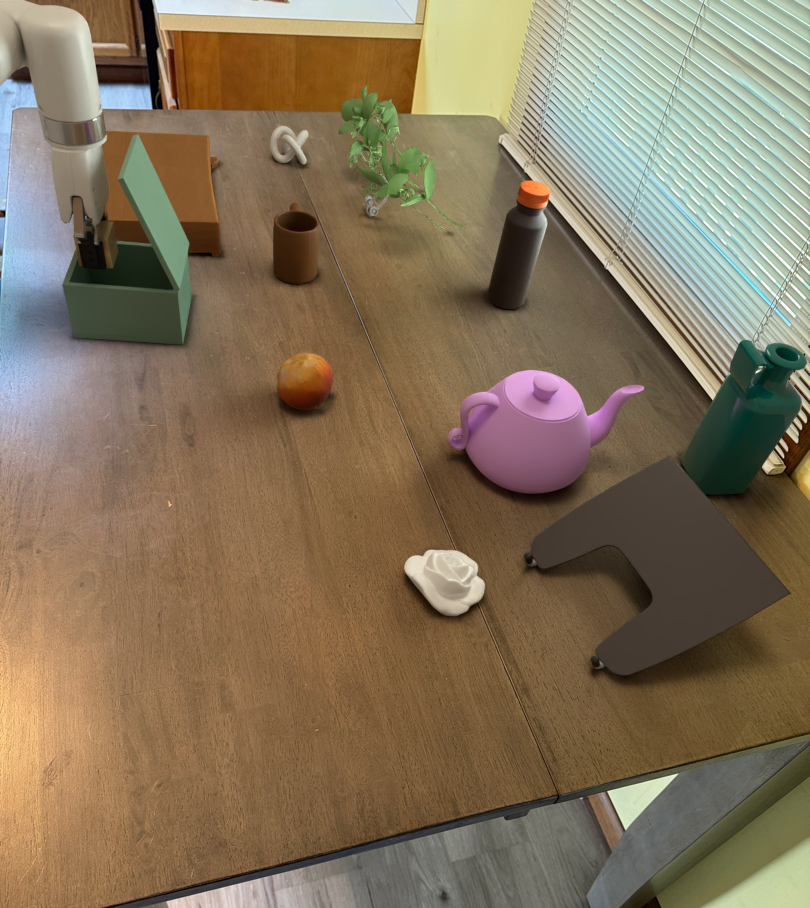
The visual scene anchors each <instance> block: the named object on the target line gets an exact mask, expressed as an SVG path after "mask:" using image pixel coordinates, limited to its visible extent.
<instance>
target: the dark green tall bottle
mask: <svg viewBox="0 0 810 908" xmlns="http://www.w3.org/2000/svg"><path fill="white" fill-rule="evenodd" d="M737 344H738V345H737V347H736V349H735V352H734V353H733V357H732V359H731V362H730V364H729V373H728V374H726V376H725V378H724V380H723V382H722V384H721V385H720V387H719V388H718V390H717V392H716V393H715V396H714V398H713V399H712V401H711V402H710V404H709V406H708V409H707V410H706V411H705V414H703V415H704V416H703V417H702V419H701V421H700V422H699V424H698V426H697V427H696V429H695V431H694V433H693V434H692V436H691V438H690V441H689V442H688V443H687V446H686V447H685V449H684V450H683V452H682V455H681V456H680V463H681V466H683V467H682V468H683V470H684V471H685V472H686V473H687V474H688V475H689V477H690V478H691V479H692V480H693V481H694V482H695V484H696V485H697V486H698V487H699V488H700V489H701V490H702V492H703V493H704V494H705V495H709V496H710V495H711V496H712V495H713V496H714V495H739V494H742V493H744V492H746V491H747V489H748V488H749V487H750V485H751V484H752V482H753V480H754V479H755V478H756V476H757V475H758V474H759V472H760V470H761V469H762V468H763V466H764V465H765V463H766V462H767V460H768V458H769V457H770V456H771V455H772V453H773V451H775V448H776V447H777V446H778V444H779V442H780V441H781V440H782V438H783V437H784V435H785V434H786V432H787V431H788V429H789V428H790V427H791V425H792V424H793V422H794V421H795V419H796V418H797V416H798V415H799V413H800V412H801V410H802V407H803V400H802V396H801V395H800V393H799V392H798V391H797V390H796V389H795V387H794V385H793V384H792V383H791V381H790V380H789V379H790V378H791V377H792V375H793V373H794V371H801V370H804V369H805V368H806V367H807V365H808V361H807V360H808V359H807V357H806V356H805V354H804V353H803V352H802V351H801V350H799V349H798V348H796V347H794V346H792V345H790V344H786V343H783V342H772V343H769V344H766V346H765V348H764V350H760V349H759V348H757V346H756V345H755V344H754V343H753V341H751V340H749V339H743V340H740V342H739V343H737Z"/></svg>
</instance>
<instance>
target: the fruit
mask: <svg viewBox="0 0 810 908" xmlns="http://www.w3.org/2000/svg"><path fill="white" fill-rule="evenodd" d="M276 379H277V382H276V383H277V384H276V390H277V394H278V396H279V398H280V399H281V400H282V401H283V402H284V403H286V405H288V406H290V407H291V408H293V409H297V410H300V411H310V410H318V411H321V406H322V405H323V404H324V402H325V401H326V400H327V398H328V397H331V391H332V389H333V385H334V374H333V371H332V368H331V365H330V364H329V362H328V361H327V360H326V359H325V358H324V357H323V356H320V354H319V355H318V354H316V353H313V352H300V353H298V354H294V355H293V356H291V357H289V358H288V359H286V360H285V361H284V362H283V363H282V365H280V367H279V370H278V372H277V378H276Z"/></svg>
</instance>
